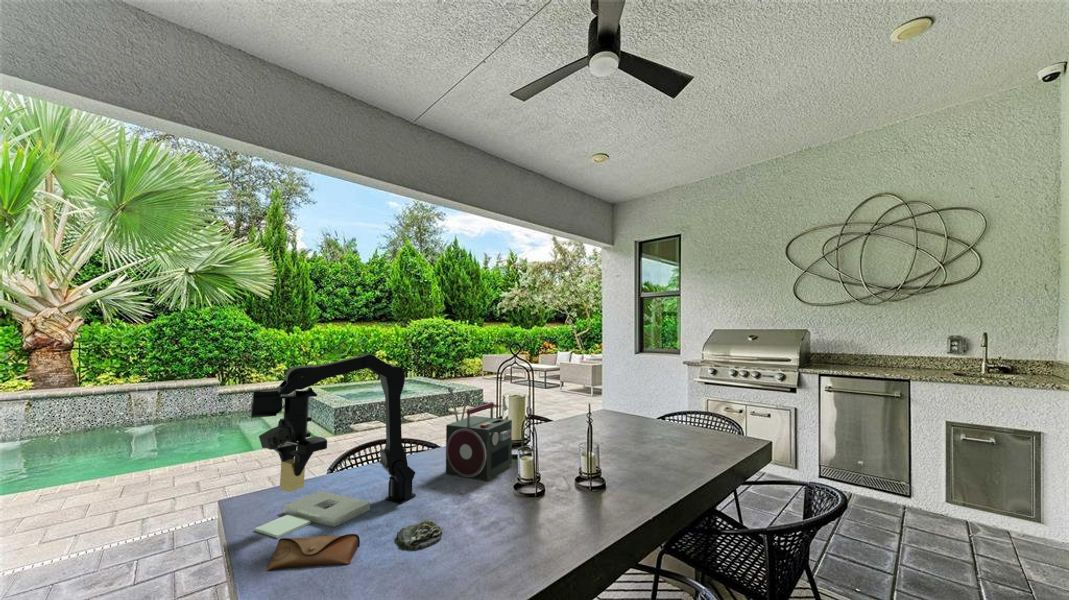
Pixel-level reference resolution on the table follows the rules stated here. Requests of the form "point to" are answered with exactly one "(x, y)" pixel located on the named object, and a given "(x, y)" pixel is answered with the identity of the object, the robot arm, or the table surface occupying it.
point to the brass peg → (290, 476)
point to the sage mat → (282, 526)
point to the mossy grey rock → (419, 536)
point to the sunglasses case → (314, 551)
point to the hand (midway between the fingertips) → (292, 474)
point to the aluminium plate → (332, 516)
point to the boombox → (478, 444)
